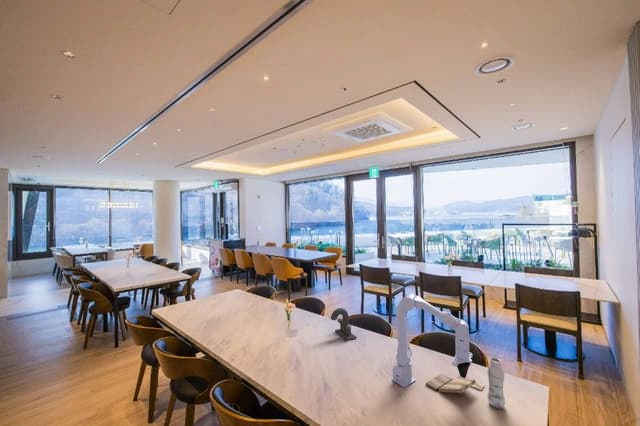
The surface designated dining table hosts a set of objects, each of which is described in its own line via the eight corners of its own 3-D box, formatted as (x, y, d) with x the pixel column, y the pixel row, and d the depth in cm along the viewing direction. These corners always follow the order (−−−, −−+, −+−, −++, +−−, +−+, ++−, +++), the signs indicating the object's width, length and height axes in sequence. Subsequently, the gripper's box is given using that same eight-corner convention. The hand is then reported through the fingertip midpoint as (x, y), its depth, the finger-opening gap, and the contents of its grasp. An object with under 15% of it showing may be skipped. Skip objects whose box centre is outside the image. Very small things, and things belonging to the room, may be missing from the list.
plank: (481, 392, 131) (481, 389, 131) (455, 381, 139) (455, 379, 139) (484, 387, 134) (484, 385, 134) (458, 377, 143) (458, 375, 143)
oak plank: (461, 392, 121) (460, 389, 122) (439, 391, 130) (438, 388, 131) (475, 382, 129) (474, 379, 129) (453, 382, 138) (452, 379, 138)
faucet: (325, 333, 198) (325, 305, 199) (344, 329, 205) (344, 302, 205) (337, 343, 182) (337, 313, 182) (357, 339, 188) (357, 310, 189)
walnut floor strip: (436, 391, 131) (436, 388, 131) (425, 385, 136) (425, 382, 136) (452, 381, 139) (452, 378, 139) (441, 375, 144) (441, 373, 144)
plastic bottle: (498, 400, 124) (497, 356, 124) (509, 410, 117) (507, 363, 117) (484, 400, 124) (483, 356, 124) (494, 411, 117) (493, 364, 117)
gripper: (462, 355, 120) (463, 386, 120) (478, 346, 129) (479, 375, 128) (447, 349, 126) (448, 379, 126) (463, 341, 134) (464, 369, 134)
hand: (463, 376), depth 127 cm, fingers closed
